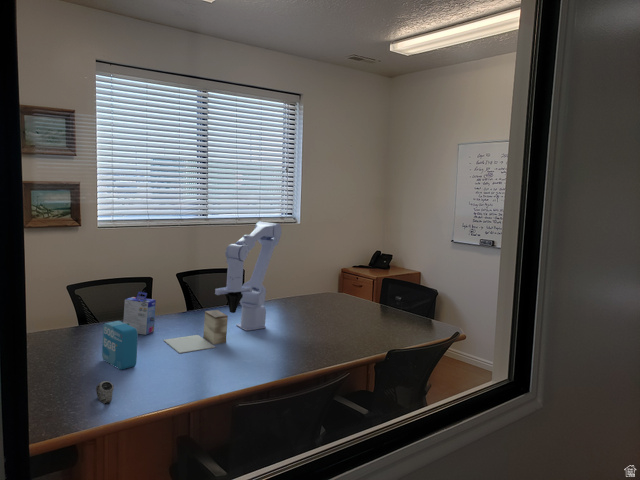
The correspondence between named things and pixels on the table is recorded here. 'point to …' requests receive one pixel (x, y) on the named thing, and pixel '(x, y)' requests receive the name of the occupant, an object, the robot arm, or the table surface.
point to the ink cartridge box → (140, 313)
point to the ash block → (215, 327)
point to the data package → (119, 344)
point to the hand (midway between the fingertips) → (232, 312)
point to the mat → (189, 343)
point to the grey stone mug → (105, 391)
